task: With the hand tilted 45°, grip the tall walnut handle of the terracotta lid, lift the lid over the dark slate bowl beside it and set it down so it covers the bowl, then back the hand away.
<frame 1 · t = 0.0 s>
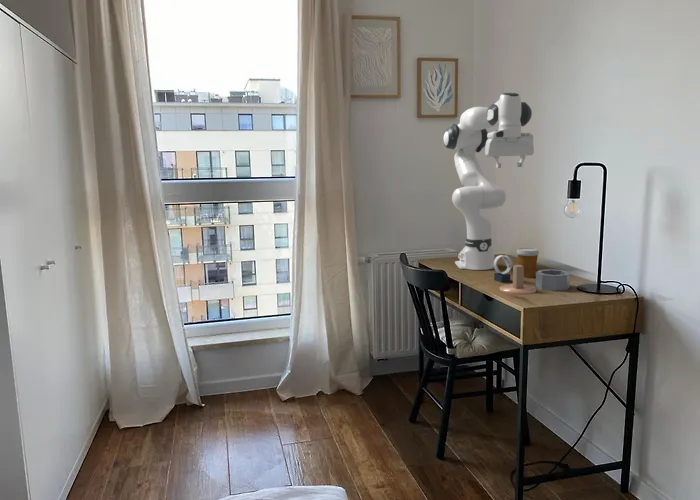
hand: (509, 167, 234), 48 cm above the table, tool pointing down, fingers open, 8 cm apart
lid: (517, 290, 225), on the table
bowl: (552, 287, 228), on the table
watch: (502, 281, 242), on the table
disposable coffee cup: (527, 276, 250), on the table
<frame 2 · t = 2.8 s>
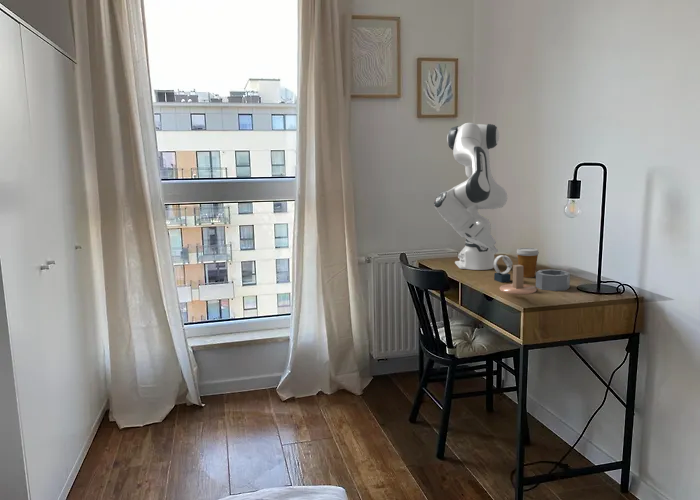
hand: (490, 250, 220), 17 cm above the table, tool tilted 45°, fingers open, 8 cm apart
nothing on the table moved.
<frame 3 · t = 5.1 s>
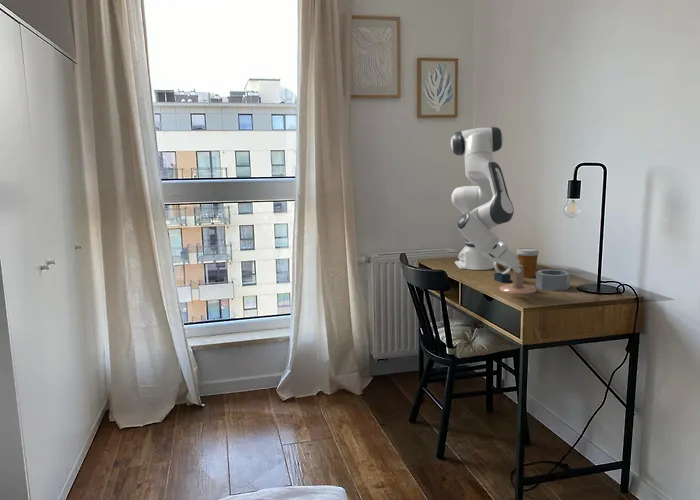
hand: (513, 269, 223), 9 cm above the table, tool tilted 45°, fingers open, 8 cm apart
nothing on the table moved.
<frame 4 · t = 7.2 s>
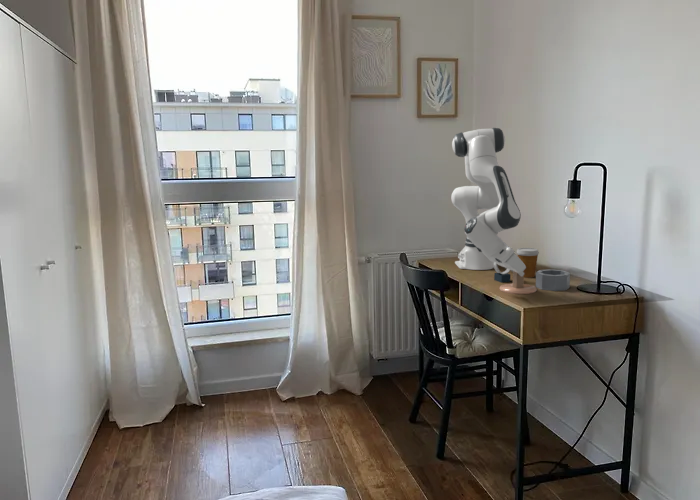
hand: (519, 273, 224), 6 cm above the table, tool tilted 45°, fingers closed on lid, 3 cm apart
lid: (517, 289, 225), on the table, touching gripper
everything else where it was.
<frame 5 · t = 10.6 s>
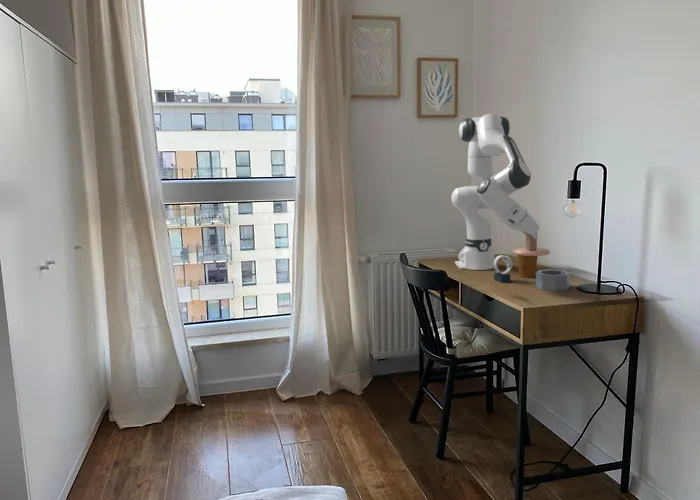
hand: (533, 236, 222), 21 cm above the table, tool tilted 45°, fingers closed on lid, 3 cm apart
lid: (531, 252, 223), point 15 cm above the table, touching gripper
everything else where it was.
when the fingers open (14 cm above the table, at t = 14.4 s): lid drops 1 cm, resting on bowl.
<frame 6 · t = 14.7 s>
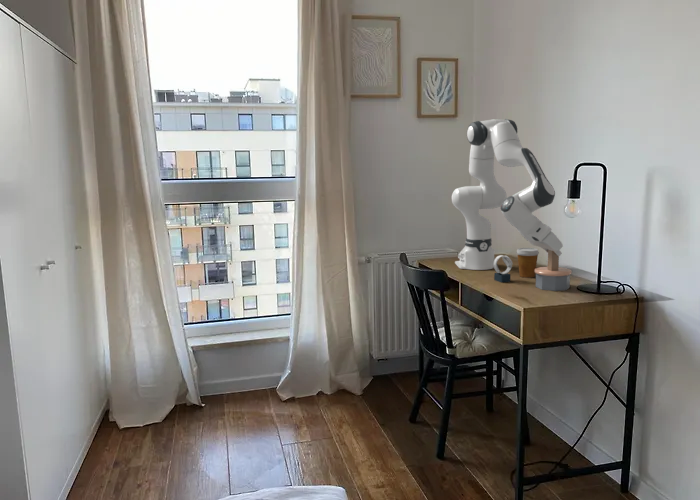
hand: (554, 253, 226), 14 cm above the table, tool tilted 45°, fingers open, 5 cm apart
lid: (552, 272, 227), point 6 cm above the table, touching bowl
everything else where it was.
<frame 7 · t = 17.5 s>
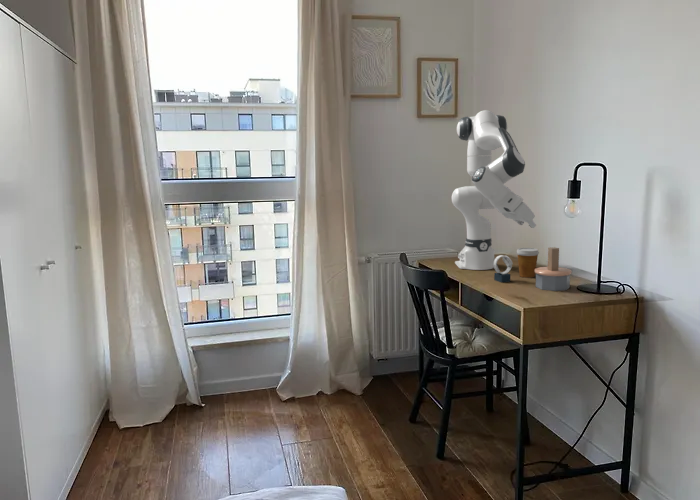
hand: (528, 225, 222), 26 cm above the table, tool tilted 45°, fingers open, 8 cm apart
nothing on the table moved.
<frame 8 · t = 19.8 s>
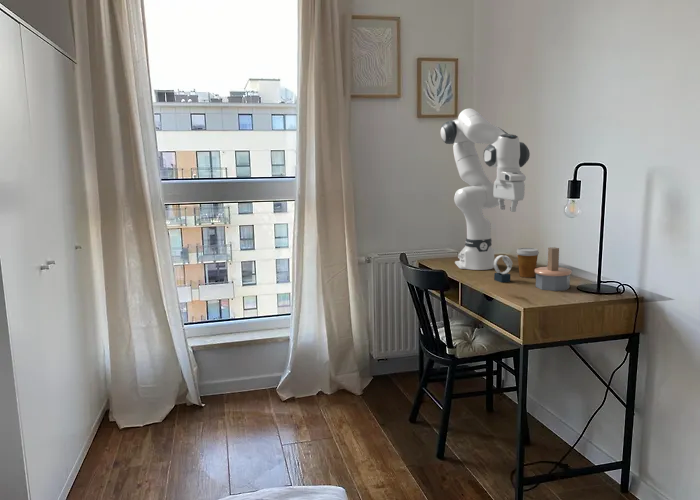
hand: (507, 210, 227), 31 cm above the table, tool pointing down, fingers open, 8 cm apart
nothing on the table moved.
at the end: lid 0.1 cm from the bowl (horizontally); lid point 6.0 cm above the table; lid tilted 0° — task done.
